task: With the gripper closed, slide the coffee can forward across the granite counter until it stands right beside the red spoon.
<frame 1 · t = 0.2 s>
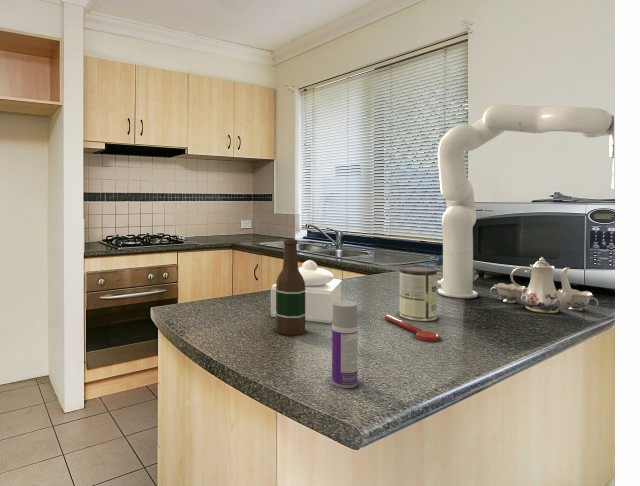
hand: (625, 209, 129), 31 cm above the countertop, tool pointing down, fingers open, 9 cm apart
red spoon: (413, 331, 113), on the countertop
beer bottle: (290, 331, 113), on the countertop
chinaware: (541, 308, 137), on the countertop
coffee can: (417, 317, 127), on the countertop
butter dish: (307, 312, 132), on the countertop
container: (344, 383, 82), on the countertop
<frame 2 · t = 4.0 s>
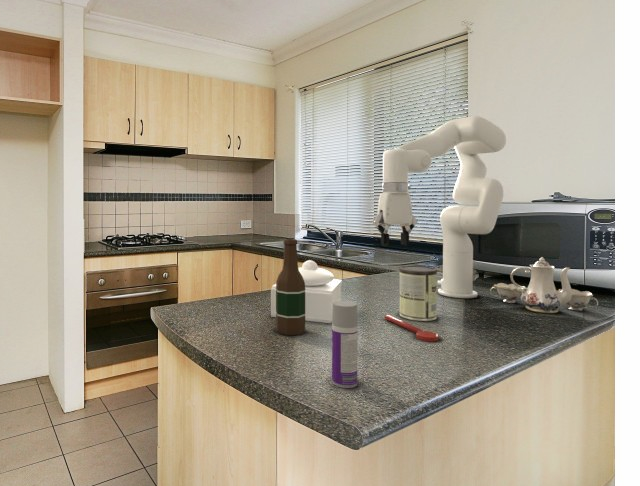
hand: (395, 245, 137), 20 cm above the countertop, tool pointing down, fingers open, 6 cm apart
nothing on the countertop moved.
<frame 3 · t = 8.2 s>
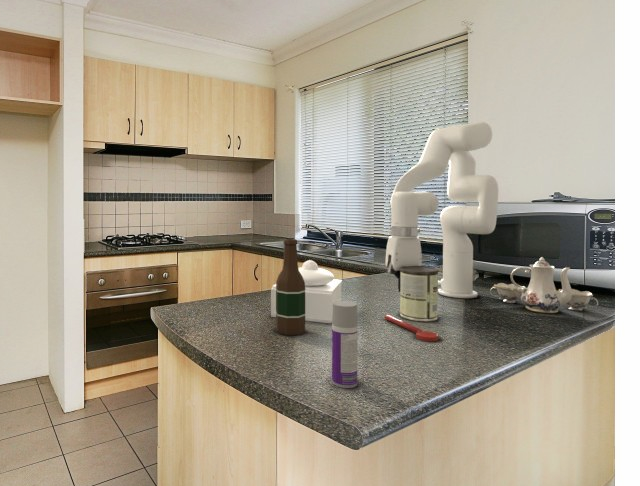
hand: (403, 292, 133), 6 cm above the countertop, tool pointing down, fingers closed
coffee can: (418, 317, 127), on the countertop, touching gripper
everything else where it was.
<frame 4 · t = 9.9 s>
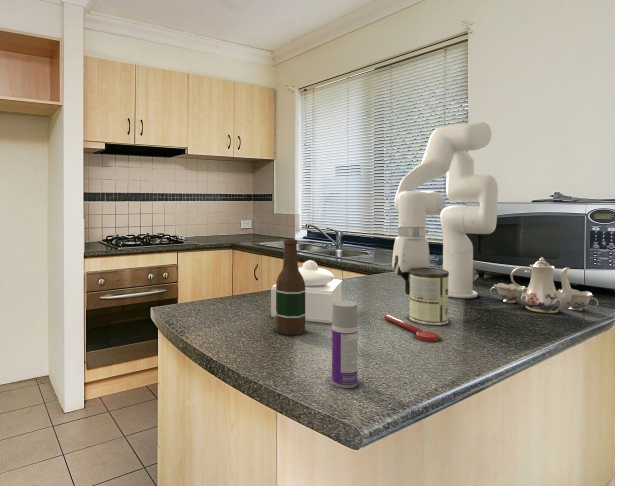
hand: (411, 294, 129), 6 cm above the countertop, tool pointing down, fingers closed
coffee can: (428, 320, 123), on the countertop, touching gripper
everything else where it was.
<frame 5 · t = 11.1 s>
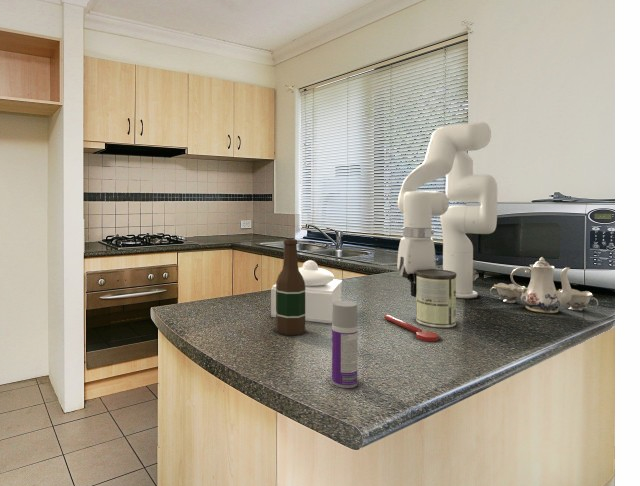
hand: (416, 296, 127), 6 cm above the countertop, tool pointing down, fingers closed
coffee can: (435, 323, 121), on the countertop, touching gripper
everything else where it was.
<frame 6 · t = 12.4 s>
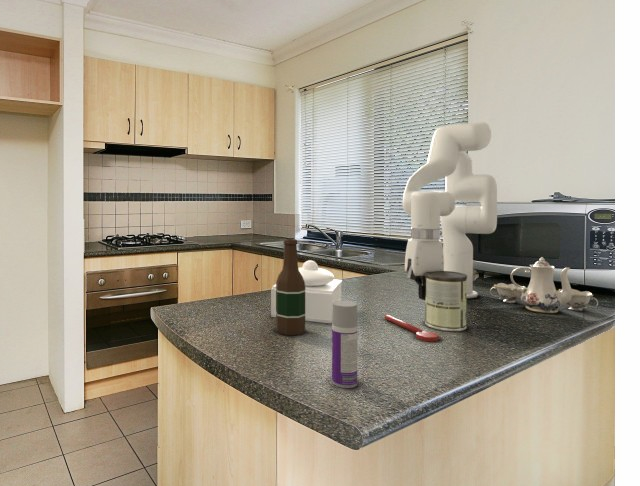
hand: (424, 299, 124), 6 cm above the countertop, tool pointing down, fingers closed
coffee can: (445, 326, 118), on the countertop, touching gripper
everything else where it was.
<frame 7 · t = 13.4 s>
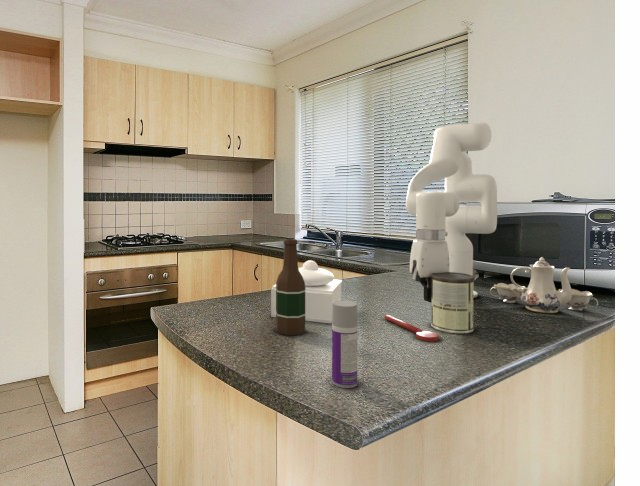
hand: (430, 301, 122), 6 cm above the countertop, tool pointing down, fingers closed
coffee can: (451, 328, 116), on the countertop, touching gripper
everything else where it was.
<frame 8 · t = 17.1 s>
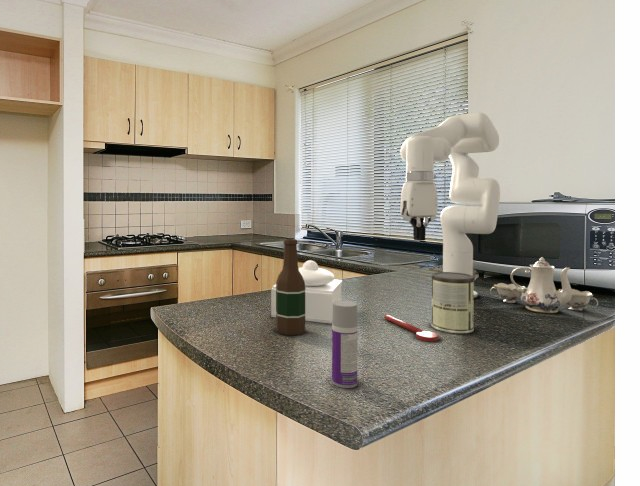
hand: (419, 240, 129), 22 cm above the countertop, tool pointing down, fingers closed
coffee can: (452, 328, 116), on the countertop
everything else where it was.
at the end: coffee can inside the target area (1.1 cm from its centre), on the countertop; coffee can 12.1 cm from the red spoon (horizontally); coffee can tilted 0° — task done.
